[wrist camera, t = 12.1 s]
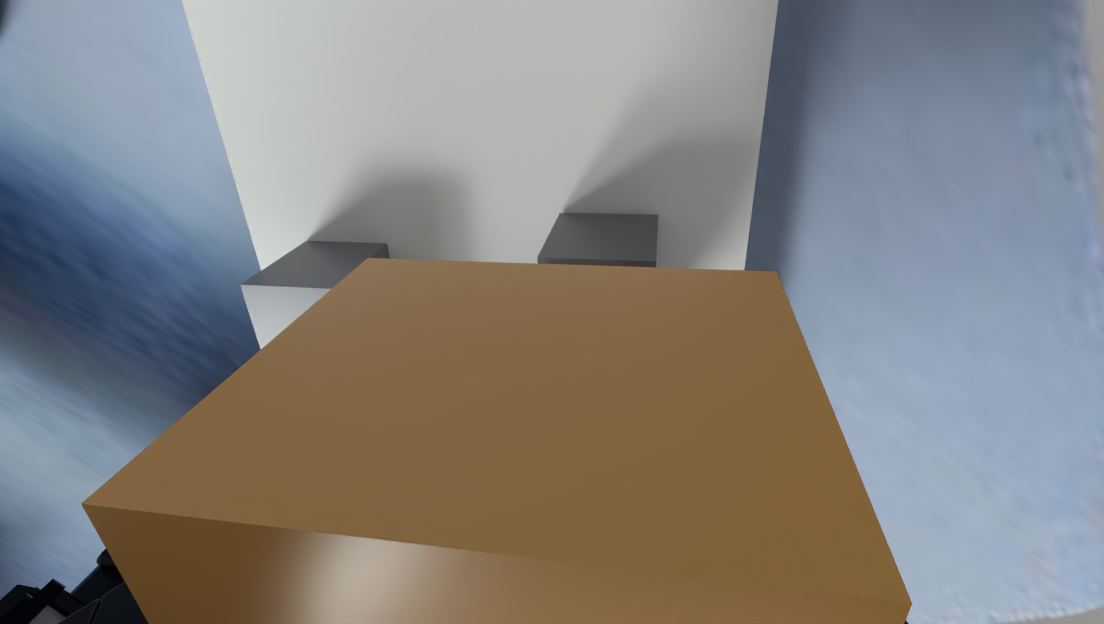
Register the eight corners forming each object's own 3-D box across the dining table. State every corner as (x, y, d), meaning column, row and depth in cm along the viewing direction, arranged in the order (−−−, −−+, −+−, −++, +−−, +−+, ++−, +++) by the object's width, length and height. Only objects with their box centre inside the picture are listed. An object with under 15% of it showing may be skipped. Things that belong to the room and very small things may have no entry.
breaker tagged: (655, 320, 16) (651, 394, 13) (561, 315, 16) (537, 386, 13) (660, 215, 15) (658, 271, 12) (558, 212, 15) (530, 266, 12)
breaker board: (708, 478, 21) (719, 603, 17) (348, 445, 23) (275, 546, 19) (769, -40, 14) (817, -59, 9) (231, -12, 16) (67, -17, 12)
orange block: (727, 588, 10) (768, 979, 6) (426, 552, 11) (287, 869, 7) (776, 271, 8) (910, 601, 3) (367, 258, 9) (81, 503, 4)
